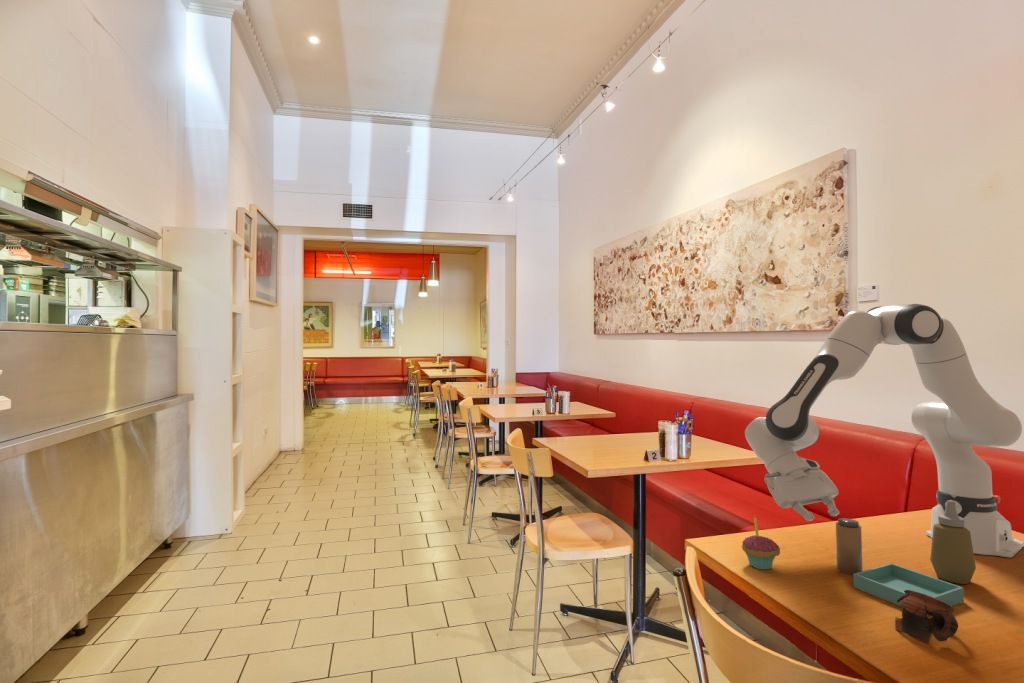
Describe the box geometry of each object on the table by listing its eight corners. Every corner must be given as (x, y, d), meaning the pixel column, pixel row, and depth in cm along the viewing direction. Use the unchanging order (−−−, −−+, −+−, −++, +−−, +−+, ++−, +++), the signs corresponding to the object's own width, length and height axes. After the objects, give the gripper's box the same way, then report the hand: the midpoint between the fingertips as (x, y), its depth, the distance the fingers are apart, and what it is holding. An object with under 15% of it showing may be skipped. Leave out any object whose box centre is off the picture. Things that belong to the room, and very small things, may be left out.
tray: (891, 575, 119) (891, 563, 120) (963, 602, 107) (963, 587, 107) (853, 587, 114) (853, 573, 114) (925, 616, 101) (924, 601, 101)
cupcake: (734, 560, 129) (734, 513, 129) (763, 557, 131) (762, 511, 131) (757, 574, 121) (756, 524, 121) (788, 571, 122) (787, 521, 123)
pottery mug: (878, 624, 99) (888, 582, 102) (925, 647, 98) (933, 605, 101) (929, 641, 88) (939, 594, 90) (982, 668, 87) (991, 619, 89)
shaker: (845, 564, 126) (844, 516, 126) (867, 572, 121) (866, 522, 122) (832, 568, 124) (830, 519, 124) (853, 576, 119) (852, 525, 119)
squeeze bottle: (985, 588, 113) (983, 507, 113) (944, 585, 114) (941, 505, 115) (961, 573, 121) (958, 497, 121) (922, 570, 122) (920, 495, 123)
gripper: (768, 468, 132) (804, 516, 122) (820, 461, 140) (858, 506, 130) (754, 481, 135) (787, 529, 126) (806, 473, 144) (841, 518, 134)
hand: (824, 517), depth 128 cm, fingers open, 8 cm apart
